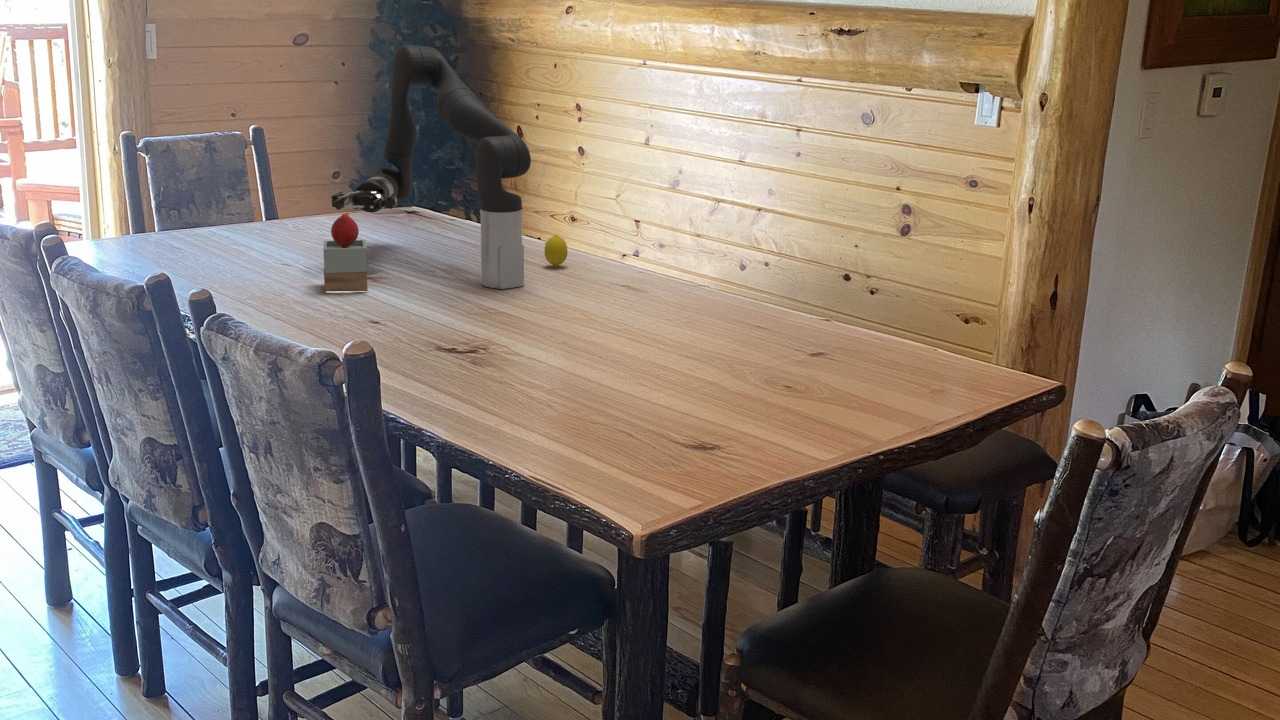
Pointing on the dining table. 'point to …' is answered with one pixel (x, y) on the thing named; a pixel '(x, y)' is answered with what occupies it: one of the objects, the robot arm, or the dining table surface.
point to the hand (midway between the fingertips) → (356, 205)
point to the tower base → (345, 281)
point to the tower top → (345, 257)
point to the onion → (344, 230)
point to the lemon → (556, 250)
